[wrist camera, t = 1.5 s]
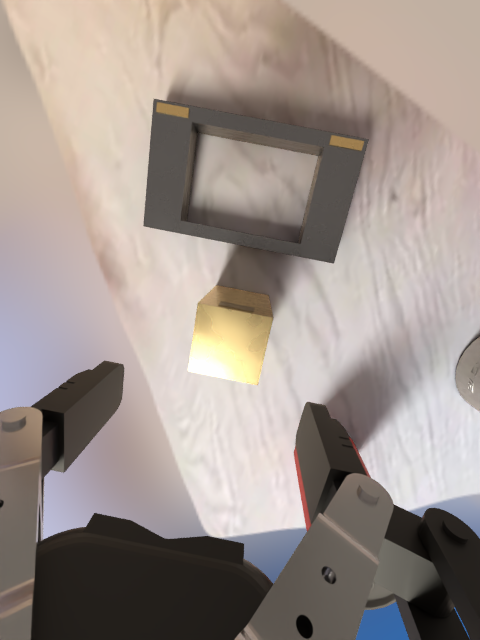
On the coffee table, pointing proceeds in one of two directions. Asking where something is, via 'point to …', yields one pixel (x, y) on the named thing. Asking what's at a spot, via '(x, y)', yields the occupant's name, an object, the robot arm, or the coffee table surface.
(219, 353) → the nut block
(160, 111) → the grey rectangular frame
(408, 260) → the coffee table surface
